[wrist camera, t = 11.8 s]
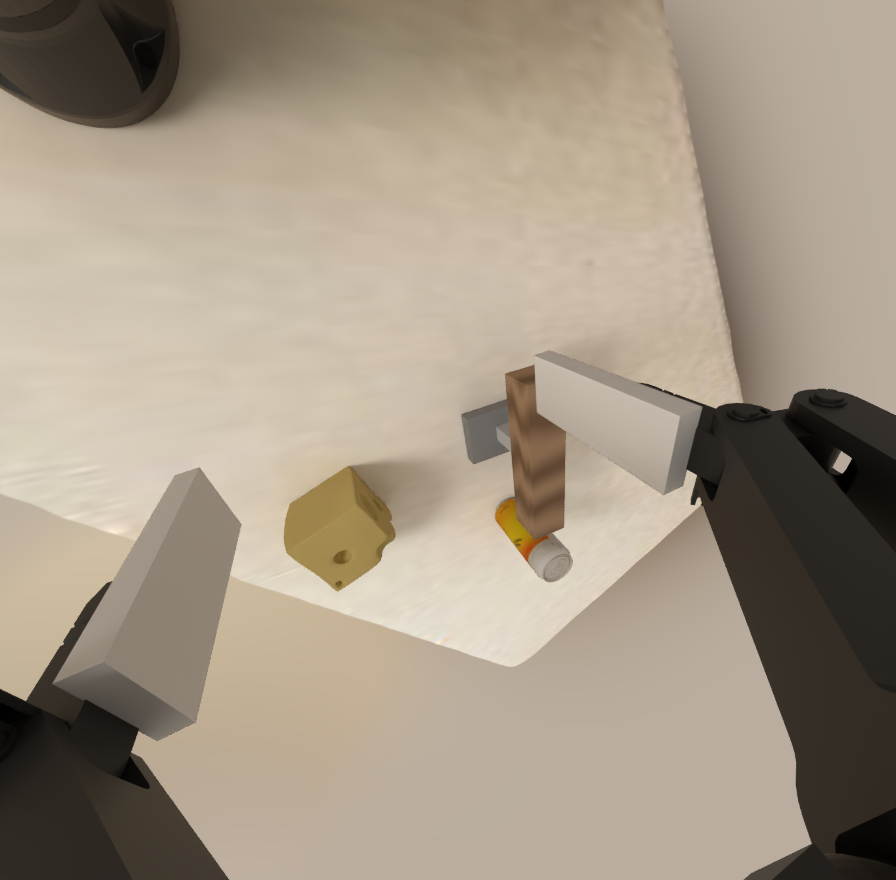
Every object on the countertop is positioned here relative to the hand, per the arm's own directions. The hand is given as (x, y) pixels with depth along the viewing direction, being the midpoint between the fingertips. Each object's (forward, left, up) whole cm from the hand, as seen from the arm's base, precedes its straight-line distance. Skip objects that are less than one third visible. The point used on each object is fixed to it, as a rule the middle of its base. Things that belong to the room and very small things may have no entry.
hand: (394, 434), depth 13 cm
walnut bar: (+21, +19, -23) cm, 36 cm away
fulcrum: (+20, +19, -31) cm, 42 cm away
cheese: (+24, -8, -31) cm, 40 cm away
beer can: (+38, +19, -31) cm, 53 cm away
